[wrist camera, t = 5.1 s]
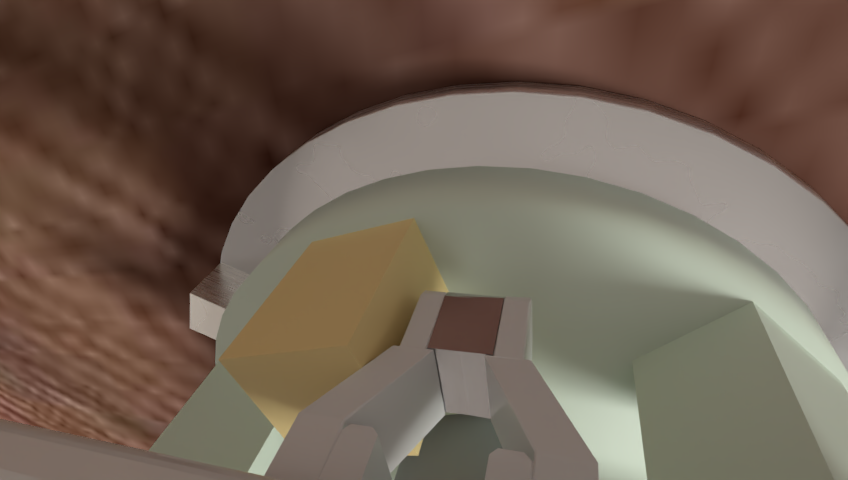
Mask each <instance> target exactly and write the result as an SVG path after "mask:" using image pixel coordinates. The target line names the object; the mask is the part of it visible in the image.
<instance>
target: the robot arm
mask: <svg viewBox="0 0 848 480" xmlns="http://www.w3.org/2000/svg"><path fill="white" fill-rule="evenodd" d="M445 412H448V413H457V414H465V415H472V416H477V417H483V418H489V419H491V422H492V424H493V427H494V429H495V431H496V434H497V436H498V438H499V441H500V443H501V446H502V448H503V449H500V448H497V449H496V450H495V451H493V452H492V453H490V454H489V458H488V464H487V469H486V475H485V480H599V472H598V462H597V460H596V459H595V457H594V456H593V454H592V453H591V451H590V450H589V448H588V447H587V445H586V443H585V442H584V440H583V439H582V437H581V436H580V434H579V433H578V431H577V430H576V428H575V427H574V425H573V423H572V422H571V420H570V419H569V417H568V416H567V414H566V413H565V411H564V410H563V408H562V407H561V405H560V404H559V402H558V400H557V399H556V397H555V396H554V394H553V393H552V391H551V390H550V388H549V387H548V385H547V384H546V382H545V380H544V379H543V377H542V376H541V374H540V373H539V371H538V370H537V368H536V367H535V365H534V364H533V362H532V299H531V298H527V297H508V296H506V297H501V296H486V295H474V294H464V293H453V292H448V293H446V292H437V291H427V290H425V291H424V292H423V293H422V294H421V295H420V297H419V300H418V302H417V305H416V307H415V310H414V312H413V314H412V317H411V319H410V322H409V324H408V327H407V329H406V332H405V334H404V336H403V339H402V341H401V344H400V346H394V345H393V346H391V347H390V348H389V349H387V350H386V351H384V352H383V353H382V354H380V355H379V356H377V357H376V358H375V359H373V360H372V361H370V362H369V363H368V364H366V365H365V366H363V367H362V368H361V369H359V370H358V371H356V372H355V373H354V374H352V375H351V376H349V377H348V378H347V379H345V380H344V381H342V382H341V383H340V384H338V385H337V386H335V387H334V388H333V389H331V390H330V391H329V392H327V393H326V394H324V395H323V396H322V397H320V398H319V399H317V400H316V401H315V402H313V403H312V404H310V405H309V406H308V407H306V408H305V409H303V410H302V411H301V412H299V413H298V415H297V417H296V419H295V421H294V422H293V424H292V426H291V428H290V430H289V431H288V433H287V435H286V437H285V439H284V441H283V442H282V444H281V446H280V448H279V450H278V451H277V453H276V455H275V457H274V459H273V460H272V462H271V464H270V466H269V468H268V469H267V471H266V473H265V475H264V476H263V475H258V474H254V473H249V472H244V471H240V470H235V469H230V468H226V467H221V466H216V465H212V464H207V463H202V462H198V461H193V460H189V459H184V458H179V457H175V456H170V455H165V454H161V453H156V452H151V451H147V450H142V449H138V448H133V447H128V446H124V445H119V444H114V443H110V442H105V441H100V440H96V439H91V438H87V437H82V436H77V435H73V434H68V433H63V432H59V431H54V430H49V429H45V428H40V427H36V426H31V425H26V424H22V423H17V422H12V421H8V420H3V419H0V480H392V477H391V474H390V473H391V472H392V471H393V470H394V469H395V468H396V467H397V466H398V465H399V464H400V462H401V461H402V460H403V459H404V458H405V457H406V456H407V455H408V454H409V453H410V452H411V451H412V450H413V449H414V448H415V446H416V445H417V444H418V443H419V442H420V441H421V440H422V439H423V438H424V437H425V436H426V435H427V434H428V433H429V432H430V430H431V429H432V428H433V427H434V426H435V425H436V424H437V423H438V422H439V421H440V420H441V419H442V418H443V417H444V416H445Z"/></svg>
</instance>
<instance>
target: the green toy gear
mask: <svg viewBox="0 0 848 480" xmlns="http://www.w3.org/2000/svg"><path fill="white" fill-rule="evenodd" d="M425 290H427V291H437V292H446V293H448V292H453V293H464V294H474V295H486V296H501V297H506V296H508V297H527V298H531V299H532V362H533V364H534V365H535V367H536V368H537V370H538V371H539V373H540V374H541V376H542V377H543V379H544V380H545V382H546V384H547V385H548V387H549V388H550V390H551V391H552V393H553V394H554V396H555V397H556V399H557V400H558V402H559V404H560V405H561V407H562V408H563V410H564V411H565V413H566V414H567V416H568V417H569V419H570V420H571V422H572V423H573V425H574V427H575V428H576V430H577V431H578V433H579V434H580V436H581V437H582V439H583V440H584V442H585V443H586V445H587V447H588V448H589V450H590V451H591V453H592V454H593V456H594V457H595V459H596V460H597V462H598V472H599V480H848V372H847V370H846V369H845V367H844V365H843V364H842V362H841V360H840V358H839V357H838V355H837V353H836V352H835V350H834V348H833V347H832V345H831V343H830V342H829V340H828V338H827V337H826V335H825V333H824V332H823V330H822V328H821V327H820V325H819V324H818V322H817V320H816V319H815V317H814V315H813V314H812V312H811V311H810V309H809V307H808V306H807V304H806V303H805V302H804V301H803V300H802V299H801V298H800V297H799V296H798V295H797V293H796V292H795V291H794V290H793V289H792V288H791V287H790V286H789V285H788V284H787V282H786V281H785V280H784V279H783V278H782V277H781V276H780V275H779V274H778V273H777V272H776V271H775V270H774V269H772V268H771V267H770V266H769V265H767V264H766V263H765V262H764V261H762V260H761V259H760V258H759V257H757V256H756V255H755V254H754V253H752V252H751V251H750V250H749V249H747V248H746V247H745V246H744V245H742V244H741V243H740V242H738V241H737V240H735V239H733V238H732V237H730V236H728V235H727V234H725V233H723V232H721V231H720V230H718V229H716V228H715V227H713V226H711V225H709V224H708V223H706V222H704V221H703V220H701V219H699V218H697V217H696V216H694V215H692V214H690V213H688V212H685V211H683V210H680V209H678V208H676V207H673V206H671V205H669V204H666V203H664V202H661V201H659V200H657V199H654V198H652V197H650V196H647V195H645V194H642V193H640V192H636V191H633V190H629V189H626V188H622V187H619V186H615V185H612V184H608V183H605V182H601V181H598V180H594V179H591V178H587V177H582V176H576V175H570V174H563V173H557V172H551V171H545V170H539V169H533V168H514V167H491V166H470V167H457V168H444V169H432V170H425V171H420V172H415V173H410V174H406V175H401V176H396V177H391V178H387V179H383V180H380V181H377V182H374V183H372V184H369V185H366V186H363V187H361V188H358V189H355V190H352V191H350V192H347V193H345V194H343V195H341V196H339V197H337V198H336V199H334V200H332V201H330V202H328V203H326V204H325V205H323V206H321V207H319V208H317V209H316V210H314V211H313V212H312V213H310V214H309V215H308V216H306V217H305V218H304V219H303V220H301V221H300V222H299V223H298V224H296V225H295V226H294V227H293V228H291V229H290V230H289V231H288V232H287V234H286V235H285V236H284V237H283V238H282V239H281V240H280V241H279V242H278V244H277V245H276V246H275V247H274V248H273V249H272V250H271V251H270V253H269V254H268V255H267V256H266V257H265V258H264V259H263V260H262V262H261V263H260V264H259V265H258V266H257V267H256V268H255V269H254V270H253V272H252V273H251V274H250V275H249V276H248V277H247V279H246V280H245V281H244V282H243V283H242V284H241V286H240V287H239V288H238V289H237V290H236V291H235V293H234V294H233V296H232V298H231V300H230V302H229V304H228V306H227V307H226V309H225V311H224V313H223V315H222V318H221V322H220V326H219V329H218V333H217V337H216V352H215V364H216V366H215V367H214V368H213V370H212V371H211V372H210V373H209V375H208V376H207V377H206V379H205V380H204V381H203V382H202V384H201V385H200V386H199V387H198V389H197V390H196V391H195V392H194V394H193V395H192V396H191V398H190V399H189V400H188V401H187V403H186V404H185V405H184V406H183V408H182V409H181V410H180V411H179V413H178V414H177V415H176V417H175V418H174V419H173V420H172V422H171V423H170V424H169V425H168V427H167V428H166V429H165V430H164V432H163V433H162V434H161V436H160V437H159V438H158V439H157V441H156V442H155V443H154V444H153V446H152V447H151V448H150V449H149V451H151V452H156V453H161V454H165V455H170V456H175V457H179V458H184V459H189V460H193V461H198V462H202V463H207V464H212V465H216V466H221V467H226V468H230V469H235V470H240V471H244V472H249V473H254V474H258V475H263V476H264V475H265V473H266V471H267V469H268V468H269V466H270V464H271V462H272V460H273V459H274V457H275V455H276V453H277V451H278V450H279V448H280V446H281V444H282V442H283V441H284V439H285V437H286V435H287V433H288V431H289V430H290V428H291V426H292V424H293V422H294V421H295V419H296V417H297V415H298V413H299V412H301V411H302V410H303V409H305V408H306V407H308V406H309V405H310V404H312V403H313V402H315V401H316V400H317V399H319V398H320V397H322V396H323V395H324V394H326V393H327V392H329V391H330V390H331V389H333V388H334V387H335V386H337V385H338V384H340V383H341V382H342V381H344V380H345V379H347V378H348V377H349V376H351V375H352V374H354V373H355V372H356V371H358V370H359V369H361V368H362V367H363V366H365V365H366V364H368V363H369V362H370V361H372V360H373V359H375V358H376V357H377V356H379V355H380V354H382V353H383V352H384V351H386V350H387V349H389V348H390V347H391V346H393V345H394V346H400V344H401V341H402V339H403V336H404V334H405V332H406V329H407V327H408V324H409V322H410V319H411V317H412V314H413V312H414V310H415V307H416V305H417V302H418V300H419V297H420V295H421V294H422V293H423V292H424V291H425ZM497 448H500V449H503V448H502V446H501V443H500V441H499V438H498V436H497V434H496V431H495V429H494V427H493V424H492V422H491V419H489V418H483V417H477V416H472V415H465V414H457V413H448V412H445V416H444V417H443V418H442V419H441V420H440V421H439V422H438V423H437V424H436V425H435V426H434V427H433V428H432V429H431V430H430V432H429V433H428V434H427V435H426V436H425V437H424V438H423V439H422V440H421V441H420V442H419V443H418V444H417V445H416V446H415V448H414V449H413V450H412V451H411V452H410V453H409V454H408V455H407V456H406V457H405V458H404V459H403V460H402V461H401V462H400V464H399V465H398V466H397V467H396V468H395V469H394V470H393V471H392V472H391V473H390V474H391V477H392V480H485V475H486V469H487V464H488V458H489V454H490V453H492V452H493V451H495V450H496V449H497Z"/></svg>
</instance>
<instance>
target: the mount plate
mask: <svg viewBox="0 0 848 480" xmlns="http://www.w3.org/2000/svg"><path fill="white" fill-rule="evenodd" d="M470 166H491V167H514V168H533V169H539V170H545V171H551V172H557V173H563V174H570V175H576V176H582V177H587V178H591V179H594V180H598V181H601V182H605V183H608V184H612V185H615V186H619V187H622V188H626V189H629V190H633V191H636V192H640V193H642V194H645V195H647V196H650V197H652V198H654V199H657V200H659V201H661V202H664V203H666V204H669V205H671V206H673V207H676V208H678V209H680V210H683V211H685V212H688V213H690V214H692V215H694V216H696V217H697V218H699V219H701V220H703V221H704V222H706V223H708V224H709V225H711V226H713V227H715V228H716V229H718V230H720V231H721V232H723V233H725V234H727V235H728V236H730V237H732V238H733V239H735V240H737V241H738V242H740V243H741V244H742V245H744V246H745V247H746V248H747V249H749V250H750V251H751V252H752V253H754V254H755V255H756V256H757V257H759V258H760V259H761V260H762V261H764V262H765V263H766V264H767V265H769V266H770V267H771V268H772V269H774V270H775V271H776V272H777V273H778V274H779V275H780V276H781V277H782V278H783V279H784V280H785V281H786V282H787V284H788V285H789V286H790V287H791V288H792V289H793V290H794V291H795V292H796V293H797V295H798V296H799V297H800V298H801V299H802V300H803V301H804V302H805V303H806V304H807V306H808V307H809V309H810V311H811V312H812V314H813V315H814V317H815V319H816V320H817V322H818V324H819V325H820V327H821V328H822V330H823V332H824V333H825V335H826V337H827V338H828V340H829V342H830V343H831V345H832V347H833V348H834V350H835V352H836V353H837V355H838V357H839V358H840V360H841V362H842V364H843V365H844V367H845V369H846V370H847V372H848V225H847V224H846V223H845V222H844V221H843V219H842V218H841V217H840V216H839V215H838V214H837V213H836V212H835V211H834V210H833V209H832V208H831V207H830V206H829V205H828V204H827V203H826V202H825V201H824V200H823V199H822V198H821V197H820V196H819V195H818V194H817V193H816V191H815V190H814V189H813V188H812V187H811V186H810V185H809V184H807V183H806V182H804V181H803V180H802V179H800V178H799V177H798V176H796V175H795V174H794V173H792V172H791V171H789V170H788V169H787V168H785V167H784V166H783V165H781V164H780V163H779V162H777V161H776V160H774V159H773V158H772V157H770V156H769V155H768V154H766V153H765V152H764V151H762V150H761V149H759V148H757V147H755V146H753V145H751V144H749V143H747V142H745V141H743V140H741V139H739V138H737V137H736V136H734V135H732V134H730V133H728V132H726V131H724V130H722V129H720V128H718V127H716V126H714V125H712V124H711V123H709V122H707V121H704V120H701V119H699V118H696V117H693V116H690V115H687V114H684V113H682V112H679V111H676V110H673V109H670V108H667V107H665V106H662V105H659V104H656V103H653V102H650V101H648V100H645V99H640V98H635V97H630V96H626V95H621V94H616V93H611V92H606V91H602V90H597V89H592V88H587V87H582V86H572V85H559V84H546V83H532V82H519V81H516V82H499V83H481V84H463V85H455V86H449V87H444V88H439V89H434V90H429V91H424V92H419V93H413V94H408V95H404V96H401V97H398V98H395V99H392V100H389V101H387V102H384V103H381V104H378V105H375V106H372V107H369V108H367V109H364V110H361V111H358V112H356V113H354V114H352V115H350V116H349V117H347V118H345V119H343V120H341V121H339V122H337V123H335V124H334V125H332V126H330V127H328V128H326V129H324V130H322V131H320V132H319V133H317V134H316V135H315V136H313V137H312V138H311V139H310V140H308V141H307V142H306V143H304V144H303V145H302V146H300V147H299V148H298V149H297V150H295V151H294V152H293V153H291V154H290V155H289V156H288V157H286V158H285V159H284V160H283V161H282V162H281V163H279V164H278V165H277V166H276V167H275V168H273V169H272V170H271V171H270V173H269V174H268V175H267V176H266V177H265V178H264V179H263V180H262V181H261V183H260V184H259V185H258V186H257V187H256V188H255V189H254V190H253V191H252V193H251V194H250V195H249V196H248V197H247V199H246V201H245V202H244V204H243V206H242V207H241V209H240V211H239V212H238V214H237V216H236V217H235V219H234V221H233V223H232V224H231V227H230V230H229V233H228V236H227V238H226V241H225V244H224V247H223V250H222V254H221V260H220V264H219V265H218V266H217V267H216V268H215V269H214V270H213V271H212V272H211V273H210V274H209V275H208V276H207V277H206V278H205V279H204V280H203V281H202V282H201V283H200V284H199V285H198V286H197V287H196V288H195V289H194V290H193V291H192V292H191V293H190V329H192V330H195V331H197V332H199V333H201V334H204V335H206V336H208V337H210V338H213V339H215V340H216V337H217V333H218V329H219V326H220V322H221V318H222V315H223V313H224V311H225V309H226V307H227V306H228V304H229V302H230V300H231V298H232V296H233V294H234V293H235V291H236V290H237V289H238V288H239V287H240V286H241V284H242V283H243V282H244V281H245V280H246V279H247V277H248V276H249V275H250V274H251V273H252V272H253V270H254V269H255V268H256V267H257V266H258V265H259V264H260V263H261V262H262V260H263V259H264V258H265V257H266V256H267V255H268V254H269V253H270V251H271V250H272V249H273V248H274V247H275V246H276V245H277V244H278V242H279V241H280V240H281V239H282V238H283V237H284V236H285V235H286V234H287V232H288V231H289V230H290V229H291V228H293V227H294V226H295V225H296V224H298V223H299V222H300V221H301V220H303V219H304V218H305V217H306V216H308V215H309V214H310V213H312V212H313V211H314V210H316V209H317V208H319V207H321V206H323V205H325V204H326V203H328V202H330V201H332V200H334V199H336V198H337V197H339V196H341V195H343V194H345V193H347V192H350V191H352V190H355V189H358V188H361V187H363V186H366V185H369V184H372V183H374V182H377V181H380V180H383V179H387V178H391V177H396V176H401V175H406V174H410V173H415V172H420V171H425V170H432V169H444V168H457V167H470Z"/></svg>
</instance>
